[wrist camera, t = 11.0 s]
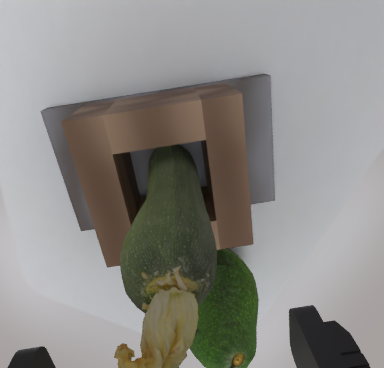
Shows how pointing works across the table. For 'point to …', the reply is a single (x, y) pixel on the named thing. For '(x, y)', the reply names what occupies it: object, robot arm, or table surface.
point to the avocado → (228, 316)
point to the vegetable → (168, 260)
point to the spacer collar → (159, 137)
